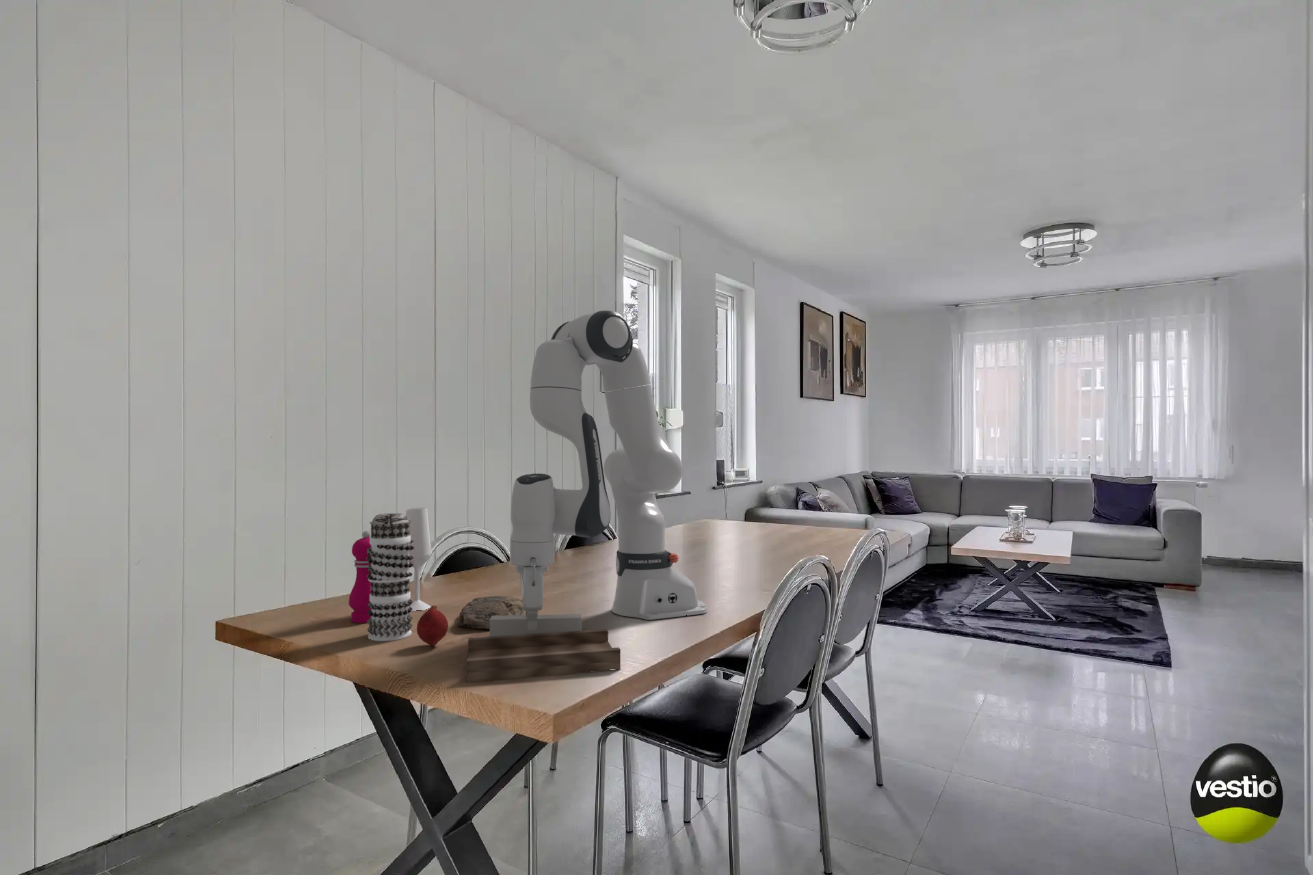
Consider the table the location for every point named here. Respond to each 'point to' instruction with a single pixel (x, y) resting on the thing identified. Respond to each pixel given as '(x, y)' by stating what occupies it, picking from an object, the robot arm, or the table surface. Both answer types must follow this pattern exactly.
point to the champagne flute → (419, 549)
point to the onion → (432, 626)
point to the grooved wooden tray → (540, 655)
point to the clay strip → (544, 624)
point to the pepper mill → (361, 581)
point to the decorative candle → (389, 577)
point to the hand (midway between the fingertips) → (530, 623)
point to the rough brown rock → (488, 610)
